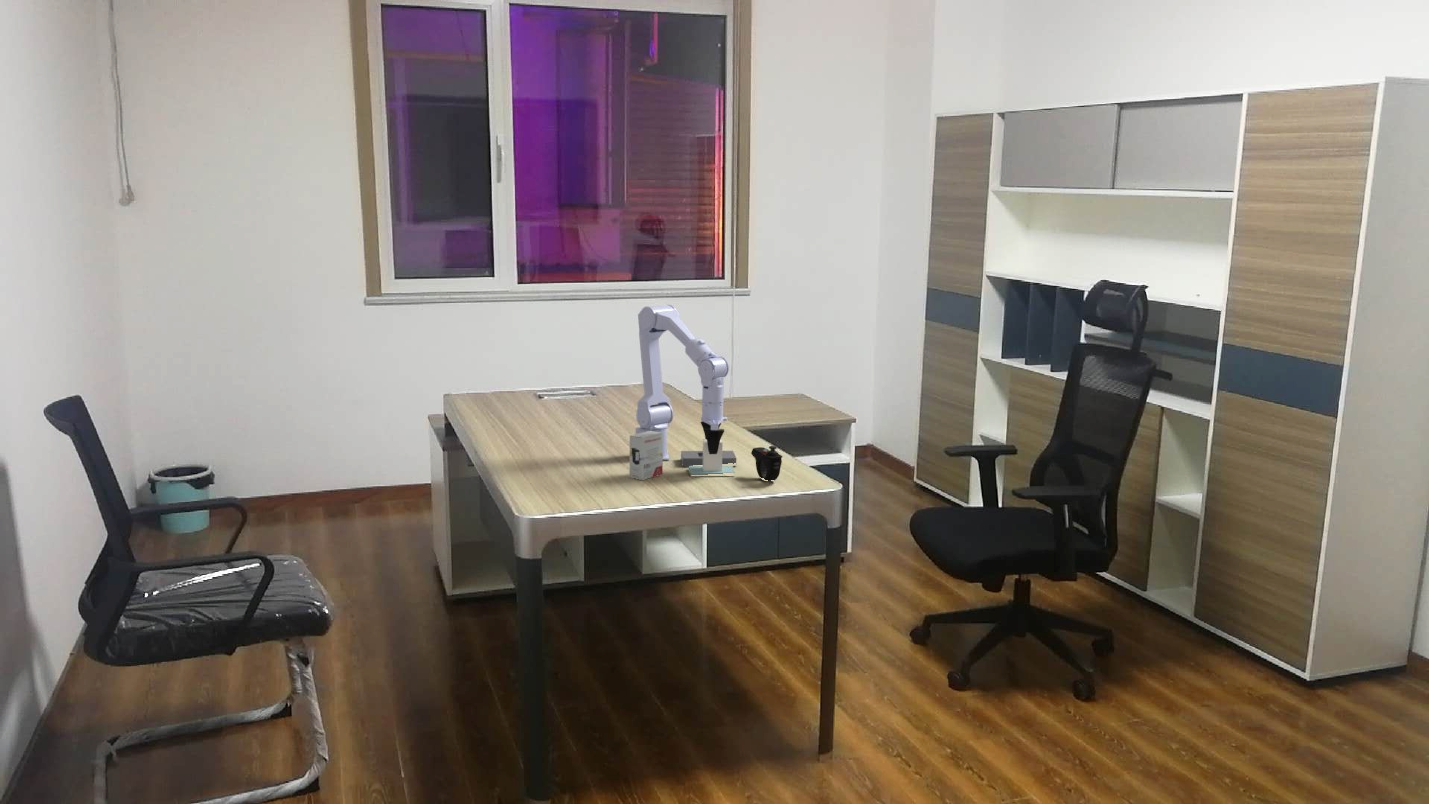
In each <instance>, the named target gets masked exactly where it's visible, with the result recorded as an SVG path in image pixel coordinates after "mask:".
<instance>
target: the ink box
mask: <svg viewBox="0 0 1429 804" xmlns="http://www.w3.org/2000/svg"><path fill="white" fill-rule="evenodd" d="M663 461H664V460H663V433H661V432H653V431H647V432H643V433H639V434H636V433H634V434H631V435H629V478H631V479H634V478H636V479H635V480H638V479H639V481H644V479H645V480H648V479H651V477H652V478H654V476H655V477H658V476H657V475H659V476H662V475H663V472H664V471H663V467H664V466H663V464H664V462H663ZM647 478H648V479H647Z"/></svg>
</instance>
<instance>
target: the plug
mask: <svg viewBox="0 0 1429 804" xmlns="http://www.w3.org/2000/svg"><path fill="white" fill-rule="evenodd" d="M723 444H724V443H723V440H722V438H721V439H720V443H719V448H718V452H717V454H709V451H708V444H707V439H705V438H704V439H702V451H703V470H704V471H722V451H723Z"/></svg>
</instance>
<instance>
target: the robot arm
mask: <svg viewBox="0 0 1429 804" xmlns="http://www.w3.org/2000/svg"><path fill="white" fill-rule="evenodd" d="M637 317H638V320H637V321H638V330H639V332H638V336H639V337H638V338H639V347H640V348H639V349H640V358H641V361H640V362H641V371H642V372H641V373H642V382H643V395H642V397H641V398H639V400H638V401H637V402H636V403H637V410H636V417H635V418H636V421H637V423H638V425H639V427H635V434H639V433H643V432H647V431H653V432H661V433H663V461H669V460H670V456H669V452H668V427H670V424H671V423H672V422H673V420H674V410H673V407H672V403H671V398H670V397H668V395H667V394H665V392H664V387H663V385H664V384H663V376H662V374H663V373H662V365H661V354H660V353H661V352H660V341H659V340H660V337H662V335H664V333H666V332H667V331H669V332H670V334H672V335H673V336H674V337H675V338H676V339H677V340H678V341H679V342H680V343H682V345H683V346H684V347H685V348H684V351H685V354H686V356H688V358H690V360H691V361H692V362H693V363H694V364H695V366H696V367H697V371H698V375H699V377H700V383H701V386H702V394H701V396H702V397H701V398H702V399H701V401H702V403H701V411H702V412H701V418H700V419H701V420H700V424H701V426H702V430H703V433H704V439H707V444H708V451H709V454H717V452H718V448H719V443H720V439H721V440H722V437H723V434H724V433H725V429H723V428H720V426H721V425H722V422H727V421H728V417H727V416H724V387H725V385H724V384H725V381H724V380H725V378H726V376H728V374H729V370H730V369H729V367H730V366H729V363H728V361H727V360H726V358H725V357H724V356H719V355H718V354H715V352H713V350H712V349H711V348H710V347H709V346H708V345H707V343H706V341H705V340H704V339H702V338H695V337H694V335H693V334H692V332H691V331H690V330H689V328H688V327H687V326H686V324H685V323H684V322H683V320H682V319H681V313H680V312H679V311H678V310H677V309H676V307H675V306H674V305H672V304H666V305H655V306H649V305H647V306H644V307H643V308H641V310H640V311H639V313H638V314H637Z"/></svg>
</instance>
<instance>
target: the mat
mask: <svg viewBox="0 0 1429 804" xmlns="http://www.w3.org/2000/svg"><path fill="white" fill-rule="evenodd" d="M689 470H690V472H689V474H691V475H708V474H723V473H735V474H736V472H735V470H734V467H732V466H722V471H704V470H703V466H689V467H688V471H689Z"/></svg>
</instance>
